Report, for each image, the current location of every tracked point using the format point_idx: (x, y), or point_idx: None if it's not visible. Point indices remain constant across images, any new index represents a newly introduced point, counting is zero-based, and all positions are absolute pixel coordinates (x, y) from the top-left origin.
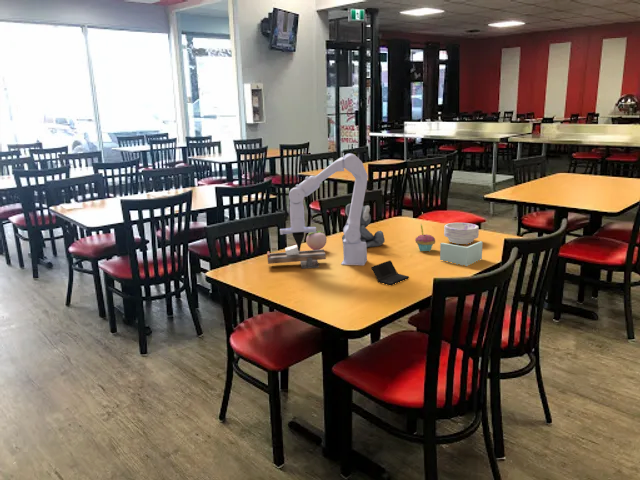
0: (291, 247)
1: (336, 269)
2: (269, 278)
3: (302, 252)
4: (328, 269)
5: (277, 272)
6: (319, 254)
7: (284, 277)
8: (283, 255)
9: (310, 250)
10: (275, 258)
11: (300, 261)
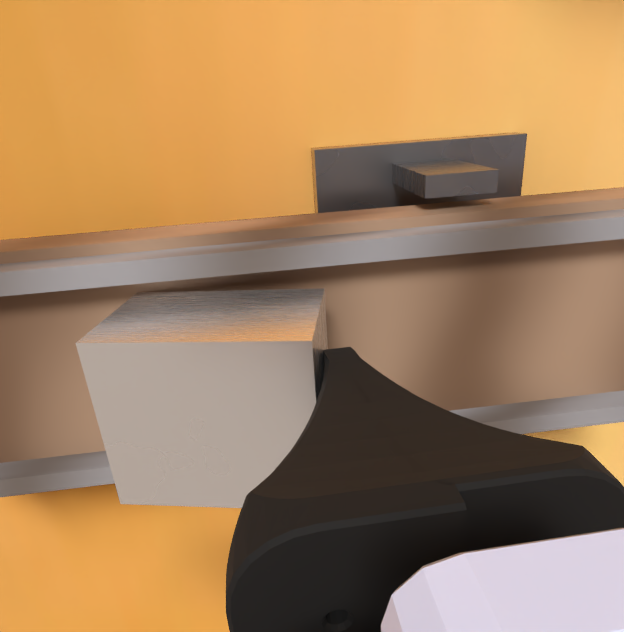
0: (210, 420)
1: (618, 445)
2: (66, 621)
3: (375, 257)
4: (557, 441)
5: (100, 497)
6: (582, 423)
7: (190, 601)
8: (82, 318)
9: (507, 235)
10: (5, 488)
11: (316, 206)
